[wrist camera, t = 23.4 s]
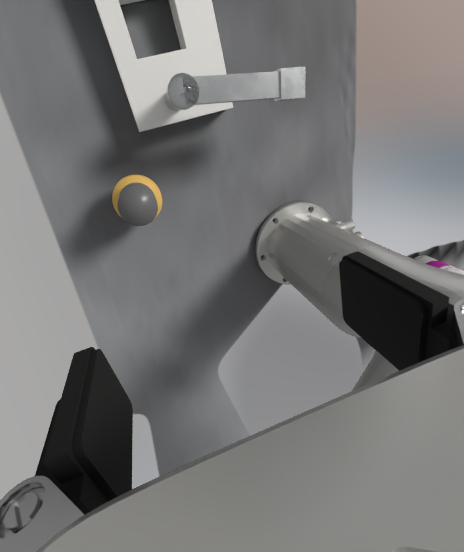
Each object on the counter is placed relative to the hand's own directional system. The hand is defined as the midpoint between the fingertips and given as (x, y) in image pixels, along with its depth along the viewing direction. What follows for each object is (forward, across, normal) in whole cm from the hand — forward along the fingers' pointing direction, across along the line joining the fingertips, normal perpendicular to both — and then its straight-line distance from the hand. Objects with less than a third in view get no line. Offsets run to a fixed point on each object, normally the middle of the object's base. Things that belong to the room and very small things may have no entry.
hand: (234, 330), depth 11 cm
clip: (+22, -9, -9) cm, 25 cm away
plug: (+30, +3, -1) cm, 30 cm away
